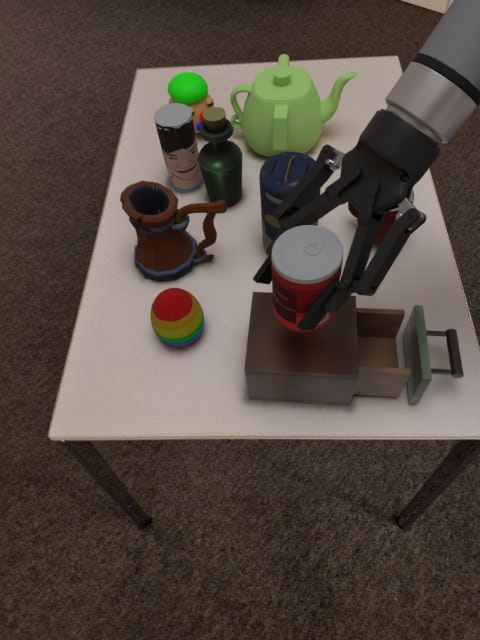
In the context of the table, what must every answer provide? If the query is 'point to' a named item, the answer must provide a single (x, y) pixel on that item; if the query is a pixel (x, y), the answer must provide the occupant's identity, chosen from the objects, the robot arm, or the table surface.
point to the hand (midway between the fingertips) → (282, 303)
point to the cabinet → (301, 357)
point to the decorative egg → (177, 317)
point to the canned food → (303, 272)
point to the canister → (280, 187)
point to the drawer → (381, 353)
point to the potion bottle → (220, 158)
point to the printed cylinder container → (179, 146)
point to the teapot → (284, 109)
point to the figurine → (191, 95)
